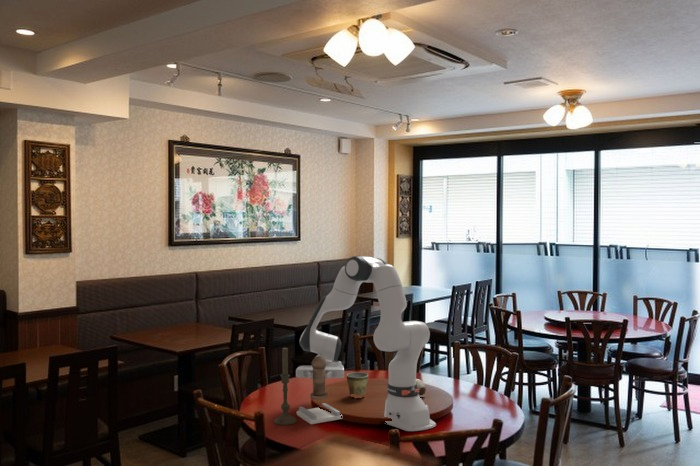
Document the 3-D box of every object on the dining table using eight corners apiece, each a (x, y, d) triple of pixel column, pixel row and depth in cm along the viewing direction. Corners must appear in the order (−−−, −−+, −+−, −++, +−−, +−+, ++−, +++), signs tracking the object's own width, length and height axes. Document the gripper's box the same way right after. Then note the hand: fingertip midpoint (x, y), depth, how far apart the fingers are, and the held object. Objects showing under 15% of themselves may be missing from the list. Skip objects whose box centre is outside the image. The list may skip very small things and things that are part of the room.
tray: (342, 418, 244) (342, 411, 244) (310, 424, 238) (310, 416, 238) (327, 409, 257) (327, 402, 257) (296, 414, 250) (296, 407, 250)
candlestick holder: (297, 417, 246) (297, 344, 246) (296, 425, 237) (295, 348, 236) (275, 418, 246) (274, 344, 245) (272, 425, 236) (272, 348, 236)
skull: (396, 391, 280) (408, 373, 283) (410, 404, 283) (422, 386, 286) (409, 397, 269) (422, 378, 272) (424, 410, 272) (437, 392, 275)
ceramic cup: (368, 399, 271) (368, 377, 271) (346, 399, 271) (346, 377, 271) (368, 391, 284) (368, 370, 284) (346, 391, 284) (346, 370, 284)
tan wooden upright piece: (330, 397, 246) (330, 357, 245) (314, 400, 242) (314, 359, 242) (323, 393, 252) (322, 354, 252) (307, 395, 248) (307, 355, 248)
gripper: (297, 361, 260) (293, 368, 246) (344, 361, 260) (343, 369, 246) (297, 375, 260) (293, 384, 246) (344, 375, 260) (343, 384, 246)
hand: (318, 376), depth 246 cm, fingers closed on tan wooden upright piece, 5 cm apart
